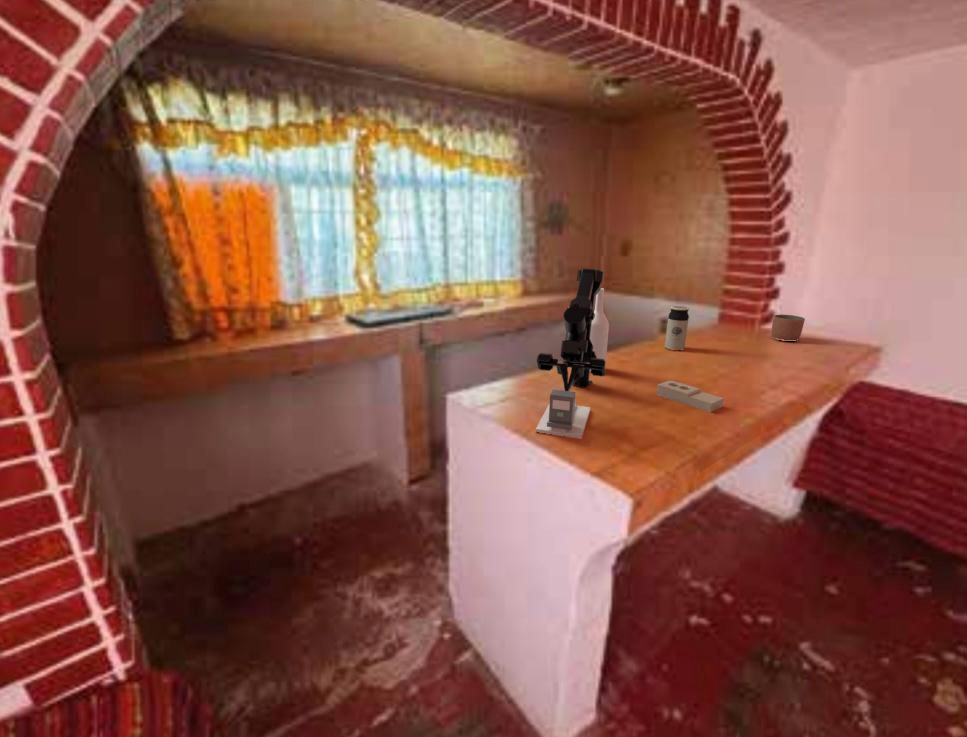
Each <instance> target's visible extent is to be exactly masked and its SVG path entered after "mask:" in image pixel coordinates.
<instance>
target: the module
mask: <svg viewBox="0 0 967 737" xmlns="http://www.w3.org/2000/svg"><path fill="white" fill-rule="evenodd" d="M576 393H577V392H576V391H570V390H569V391H565V390H561V389H560V390H559V389H552V390H551V392H550V394H549V403H550V407H549V422H556V423H564V424H571V425H573V422H574V408H575V403H576Z"/></svg>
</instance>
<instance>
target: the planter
mask: <svg viewBox="0 0 967 737" xmlns="http://www.w3.org/2000/svg"><path fill="white" fill-rule="evenodd" d="M805 321H806V318H805V317H803V316H799V315H792V314H774V315H773V319H772V325H771V337H774V338H778V339H784V340H797V339H798V340H799V339H800V338H801V336H802V332H803V328H804V325H805ZM798 340H797V341H798Z"/></svg>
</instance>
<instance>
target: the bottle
mask: <svg viewBox="0 0 967 737" xmlns="http://www.w3.org/2000/svg"><path fill="white" fill-rule="evenodd" d="M604 297H605V289H604V288H603V287H601V289H600V291H599V292H598V293H597V295H596V296H595V303H594V310H593V311H594V313H595V318H594V319H593V320H592V325H591V334H590V340H591V343H592V345H593V347H594V349H593V351H595V355H596V356H597V358H599V359H604V360H605V366H606V364H607V362H606V361H607V352H608V340H609V333H610V332H609V331H610V323H609V320H608V318H607V316H606V314H605V313H604ZM590 373H591V369H590Z"/></svg>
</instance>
